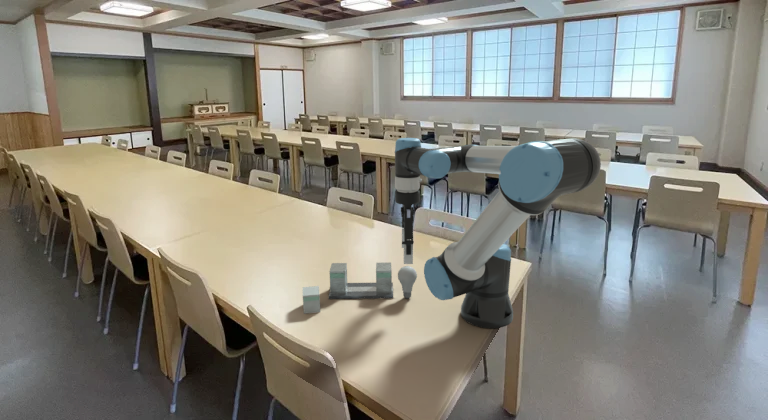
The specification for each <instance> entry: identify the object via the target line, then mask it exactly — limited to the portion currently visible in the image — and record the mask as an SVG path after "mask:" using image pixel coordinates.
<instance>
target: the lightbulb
mask: <svg viewBox="0 0 768 420" xmlns="http://www.w3.org/2000/svg"><path fill="white" fill-rule="evenodd" d="M417 277H418V274H417V271H416V269H415V268H414V267H412V266H410V265H405V266H402V267H401V268H400V269H399V270H398V272H397V279H398V281H399V283H400V284H401V289H402V294H403V298H404V299H408V300H409V299H410V298H411V297H412V292H413V287H414V284H415V283H416V281H417Z"/></svg>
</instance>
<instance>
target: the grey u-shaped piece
mask: <svg viewBox="0 0 768 420" xmlns="http://www.w3.org/2000/svg"><path fill="white" fill-rule="evenodd" d="M347 264H348V263H347V262H331V265H330V268H329V271H328V272H329V289H330V290H329V292H328V293H329V294H328V300H351V299H353V300H354V299H355V300H360V299H361V300H363V299H368V300H369V299H373V300H375V299H394V284H393V283H394V282H393V281H392V278H393V277H392V274H393V273H392V270H393V269H392V262H390V261H389V262H376V263H375V278H376V279H375V282H348V267H347Z"/></svg>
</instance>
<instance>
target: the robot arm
mask: <svg viewBox="0 0 768 420" xmlns="http://www.w3.org/2000/svg"><path fill="white" fill-rule="evenodd" d="M394 146H395V147H394V149H395V150H394V169H395V170H394V189H395V191H394V192H395V193H394V201H395V203H396V204H398V205H402V206H401V207H400V214H401V215H400V216H401V249H403V265H413V264H414V263H413V262H414V257H413V256H414V244H415V243H414V222H415V219H414V218H415V216H414V215H415V209H414V206H413V205H417V204H418V203H420V201H421V191H420V190H419V189H421V187H420V186H421V183H422V181H423V179H422V178H421V176H424V177H426V178H429V179H442V178H444V177H445V176H446V175H448V174H454V173H464V172H466V173H482V174H493V175H498V183H497V186H498V190H499V191H498V192H497V193H496V194H495V196H494V197H493V198H492V200H490V202H489V203H488V204H487V206H486V207H485V208H484V209H483V211H481V213H480V214H479V215H478V216H477V218H476V220H474V222H473V223H472V224H471V226H469V228H468V229H467V230H466V232H465V233H464V235H462V236H461V238H460V239H459V240H458V241H453V242H451V243H449V244H448V246H446V247H445V249H444V250H443V251H442V253H441V254H440V255H438V256H433V257H431V258H428V259H427V260H426V261H425V263H424V267H423V275H424V279H425V283H426V286H427V288H428V289H429V291H430V293H431V294H432V295H433V296H434V297H435V298H437V299H438V300H439V301H447V300H453V299H454V298H457V297H460V296H463V295H464V298H463V301H462V303H461V306H460V316H461V318H462V319H463V320H464V322H466V323H468V324H470V325H473V326H476V327H479V328H483V329H500V328H503V327H504V328H505V327H507V326H509V325H510V324H511V323H512V322H513V319H514V309H513V305H512V302H511V298H510V295H509V291H510V290H509V288H510V277H511V276H510V275H511V265H512V264H511V263H512V258H511V257H512V256H511V255H512V250H511V248H510V246H509V245H508V244H506V242H507V241H508V240H509V239H510V237H511V236H512V235H513V234H514V233H516V232H517V230H518V229H519V228H520V227H521V225H522V224H524V223H525V222H526V221H527V220H528V219H529V218H530V216H538V215H541V214H543V213H544V212H545V211H546V210H547V209H548V208H549V207H550V206H551V205H552V204H553V203H554V201H556V200H557V199H558V198H559V197H561V196H564V195H566V196H567V195H570V194H575V193H579V192H582V191H585V190H586V189H588V188H589V187H590V186H592V185H593V183H594V182H595V181H596V180H597V178H598V176H599V175H600V172H601V165H602V163H601V158H600V157H601V156H600V154H599V152H598V150H597V149H596V147H595V146H594V145H592V144H591V143H589V142H588V141H586V140H584V139H581V138H576V137H572V138H570V137H569V138H562V139H552V140H551V139H550V140H544V141H543V140H534V141H533V140H532V141H529V142H526V143H522V144H521V143H520V144H518V145H478V144H465V145H456V146H447V147H437V148H435V147H434V148H425V147H422V142H421V140H420V138H416V137H400V138H397V140H396V141H395V145H394Z"/></svg>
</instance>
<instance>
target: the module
mask: <svg viewBox="0 0 768 420" xmlns="http://www.w3.org/2000/svg"><path fill="white" fill-rule="evenodd" d="M302 307H303V314H313V313H321V298H320V286H319V285H315V286H303V287H302Z"/></svg>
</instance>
